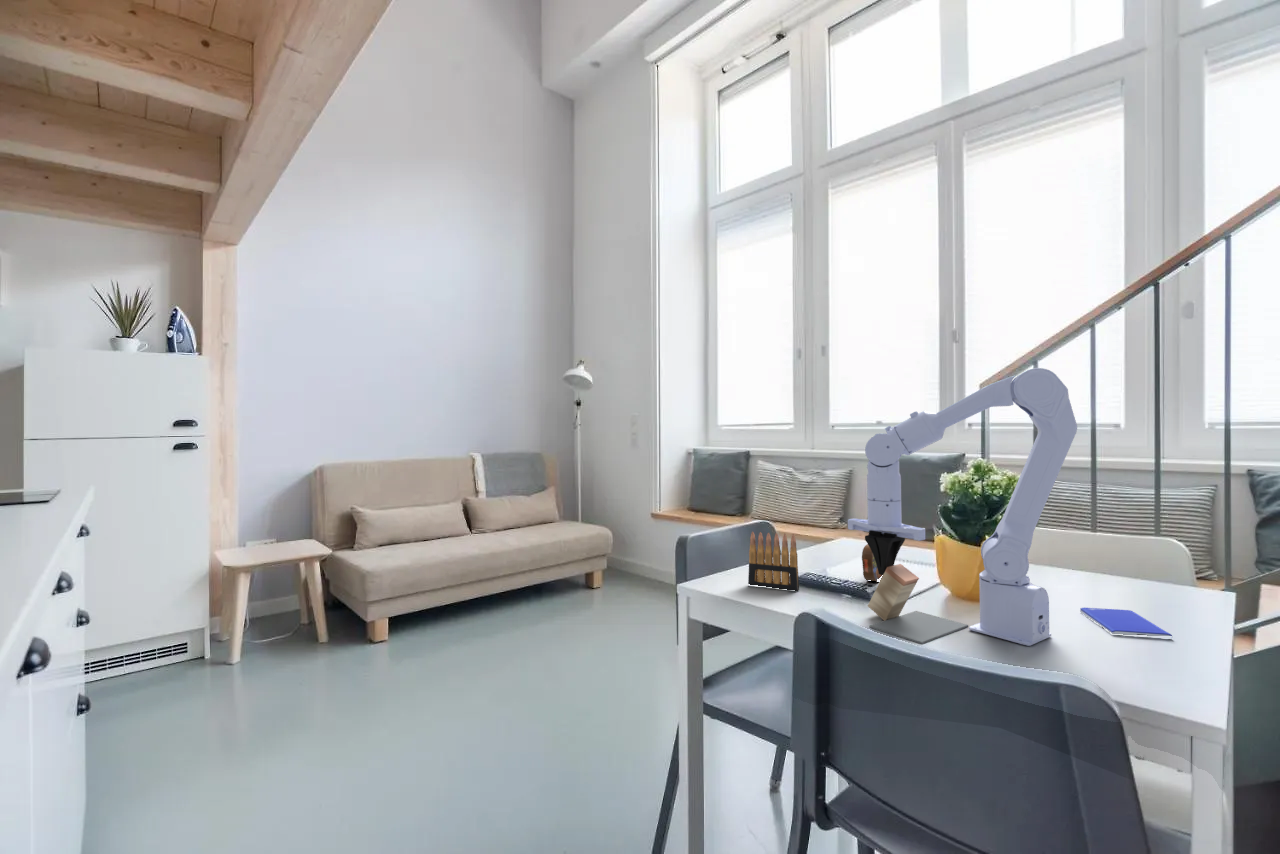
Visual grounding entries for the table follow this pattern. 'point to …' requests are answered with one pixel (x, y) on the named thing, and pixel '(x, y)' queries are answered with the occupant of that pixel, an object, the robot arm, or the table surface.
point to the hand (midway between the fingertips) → (885, 574)
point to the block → (892, 592)
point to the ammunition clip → (773, 563)
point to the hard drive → (1123, 622)
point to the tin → (869, 565)
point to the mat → (918, 626)
